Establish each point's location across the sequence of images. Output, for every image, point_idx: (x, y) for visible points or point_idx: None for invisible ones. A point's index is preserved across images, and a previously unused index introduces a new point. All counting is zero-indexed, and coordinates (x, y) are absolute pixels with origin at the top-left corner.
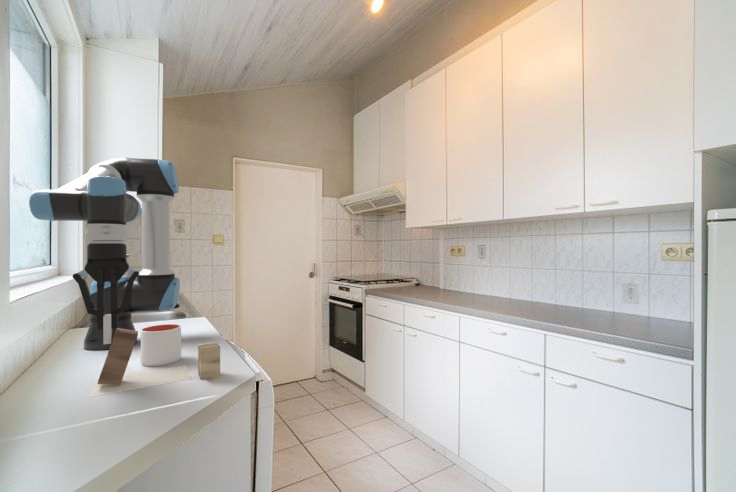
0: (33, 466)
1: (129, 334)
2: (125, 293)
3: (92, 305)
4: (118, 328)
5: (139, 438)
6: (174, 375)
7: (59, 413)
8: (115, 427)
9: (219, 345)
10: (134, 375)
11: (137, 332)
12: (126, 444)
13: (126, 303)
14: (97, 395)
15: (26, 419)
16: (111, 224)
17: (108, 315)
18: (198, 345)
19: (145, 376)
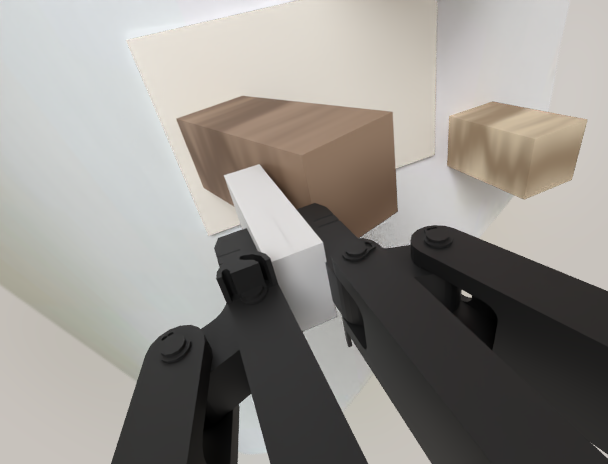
0: (249, 432)
1: (367, 225)
2: (584, 427)
3: (195, 407)
4: (311, 166)
5: (352, 378)
6: (398, 105)
7: (178, 303)
8: (315, 355)
9: (571, 177)
10: (274, 45)
11: (393, 158)
12: (340, 390)
13: (491, 332)
14: (224, 226)
15: (115, 325)
16: None
17: (315, 304)
18: (532, 155)
19: (315, 78)
